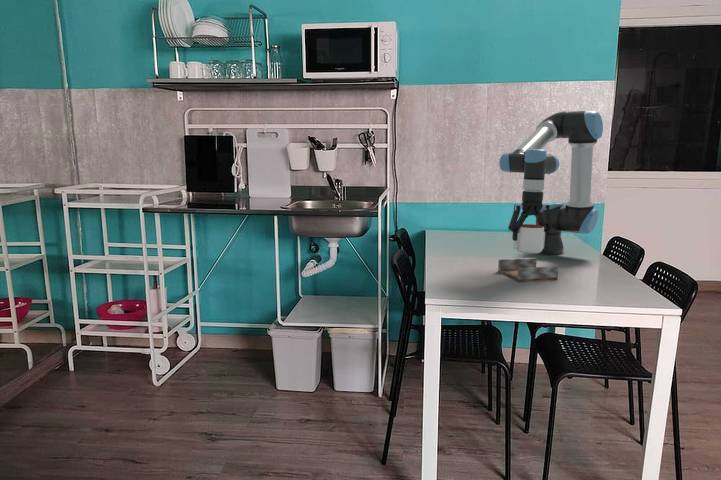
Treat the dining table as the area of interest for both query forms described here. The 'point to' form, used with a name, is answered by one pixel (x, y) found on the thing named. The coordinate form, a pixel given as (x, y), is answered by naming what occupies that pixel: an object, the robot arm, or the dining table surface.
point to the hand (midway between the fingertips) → (528, 248)
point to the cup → (531, 238)
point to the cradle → (526, 270)
